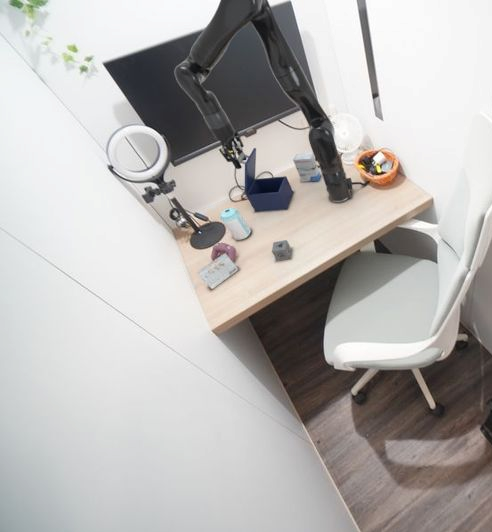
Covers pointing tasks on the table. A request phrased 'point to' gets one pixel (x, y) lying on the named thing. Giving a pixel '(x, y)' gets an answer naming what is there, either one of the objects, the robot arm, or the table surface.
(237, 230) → the can
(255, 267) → the table surface
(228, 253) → the video game controller
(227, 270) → the ink box
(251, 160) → the lid
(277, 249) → the dice cube
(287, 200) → the chest
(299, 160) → the ink box
